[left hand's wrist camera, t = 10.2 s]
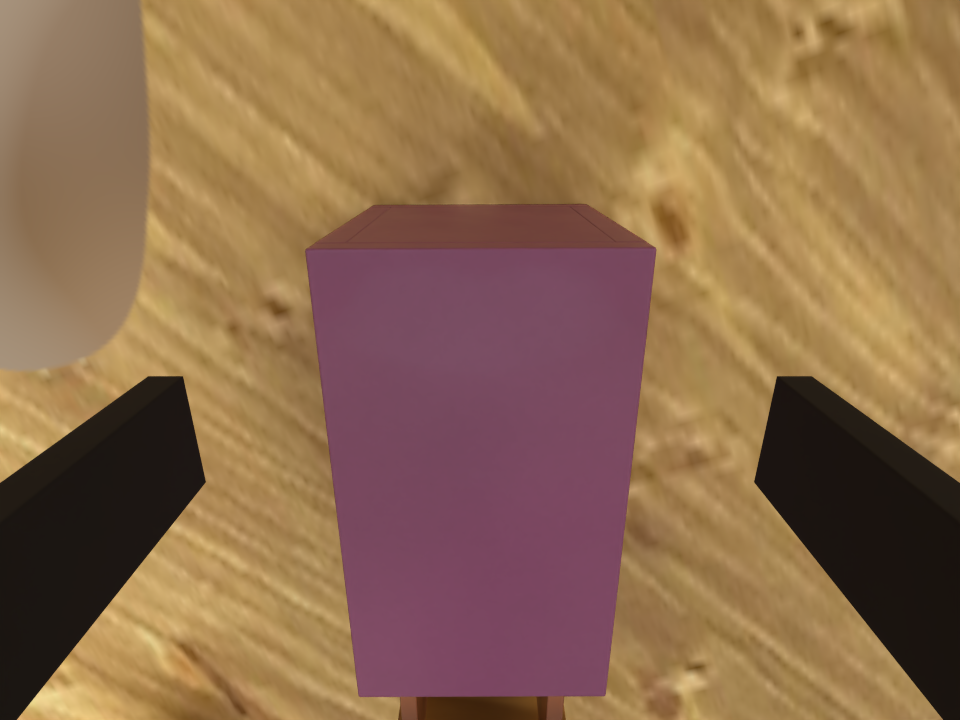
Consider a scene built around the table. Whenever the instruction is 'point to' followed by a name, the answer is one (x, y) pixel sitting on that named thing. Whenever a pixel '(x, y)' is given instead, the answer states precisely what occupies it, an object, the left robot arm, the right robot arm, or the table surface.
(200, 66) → the table surface
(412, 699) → the drawer
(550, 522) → the purple rectangular block
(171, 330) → the table surface
